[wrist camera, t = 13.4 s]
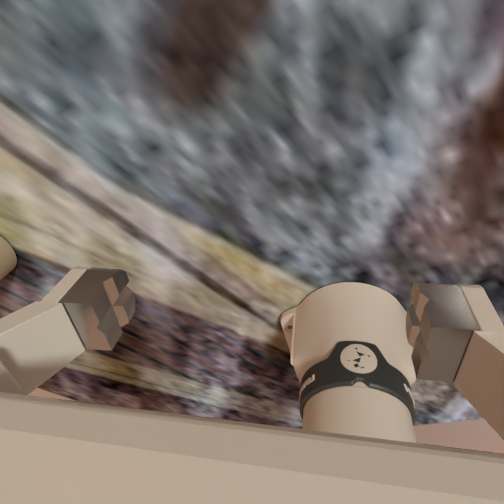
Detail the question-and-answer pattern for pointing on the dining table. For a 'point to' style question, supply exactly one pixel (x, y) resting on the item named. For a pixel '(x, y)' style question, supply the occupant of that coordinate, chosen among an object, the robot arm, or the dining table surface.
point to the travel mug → (6, 258)
